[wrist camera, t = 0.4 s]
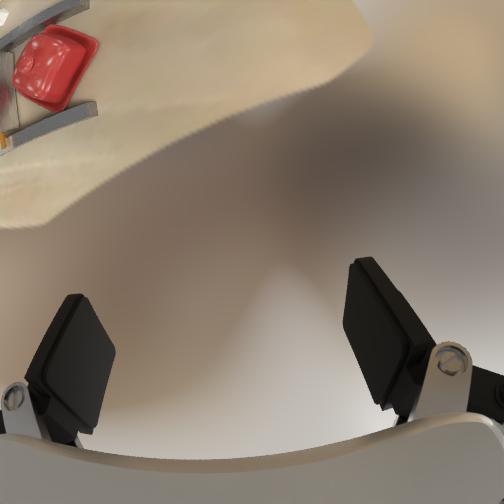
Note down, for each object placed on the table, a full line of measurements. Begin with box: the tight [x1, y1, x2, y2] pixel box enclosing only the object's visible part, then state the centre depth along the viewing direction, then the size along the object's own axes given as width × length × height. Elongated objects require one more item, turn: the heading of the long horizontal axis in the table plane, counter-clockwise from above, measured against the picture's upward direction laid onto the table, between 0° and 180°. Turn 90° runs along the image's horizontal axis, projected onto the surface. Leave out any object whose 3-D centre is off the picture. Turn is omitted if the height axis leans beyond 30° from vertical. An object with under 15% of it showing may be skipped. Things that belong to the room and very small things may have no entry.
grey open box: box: [0, 0, 98, 156], centre depth 22 cm, size 19×28×6 cm, turn 95°
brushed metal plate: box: [0, 52, 20, 150], centre depth 23 cm, size 16×2×6 cm, turn 5°
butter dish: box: [12, 24, 98, 113], centre depth 22 cm, size 12×12×8 cm
